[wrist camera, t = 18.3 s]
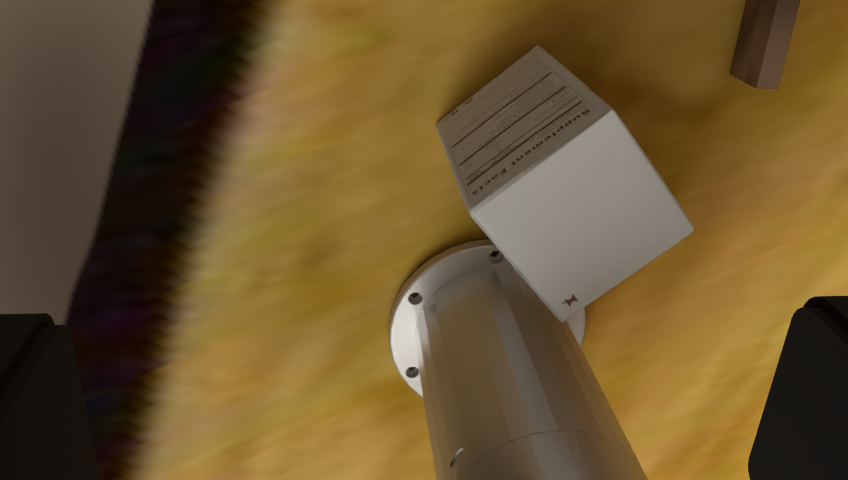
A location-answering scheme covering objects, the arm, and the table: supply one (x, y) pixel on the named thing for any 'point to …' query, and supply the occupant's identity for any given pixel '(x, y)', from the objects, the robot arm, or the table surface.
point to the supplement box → (559, 183)
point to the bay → (764, 41)
